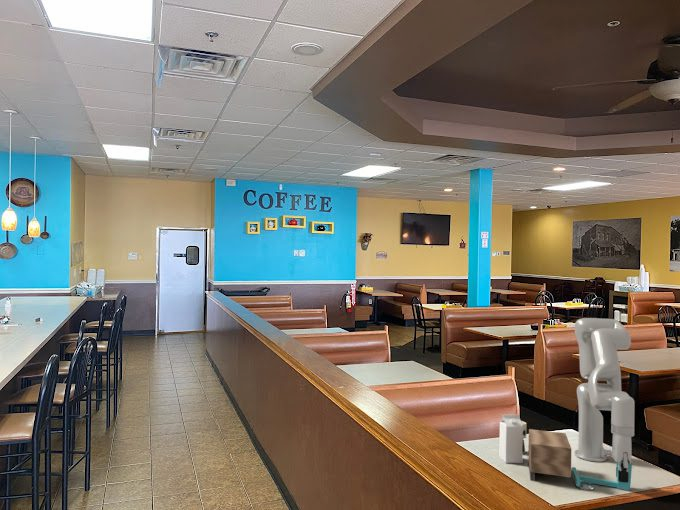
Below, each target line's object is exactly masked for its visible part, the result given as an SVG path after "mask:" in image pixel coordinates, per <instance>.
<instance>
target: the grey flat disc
mask: <svg viewBox="0 0 680 510" xmlns="http://www.w3.org/2000/svg"><path fill="white" fill-rule="evenodd" d="M579 487H580V488H579ZM577 488H579V489H581V488H582V490H584V489H585V490H584V491H595V490H596V485H595V484H594V483H590V482H585V481H580V486H578V487H577ZM594 489H595V490H594Z"/></svg>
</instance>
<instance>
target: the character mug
mask: <svg viewBox="0 0 680 510" xmlns="http://www.w3.org/2000/svg"><path fill="white" fill-rule="evenodd" d="M521 423H522V425H523V450H522V454H524V453H526V448H525V447H526V445H525V440H524V439H526V438H527V422H525V421H523V420H521Z"/></svg>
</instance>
